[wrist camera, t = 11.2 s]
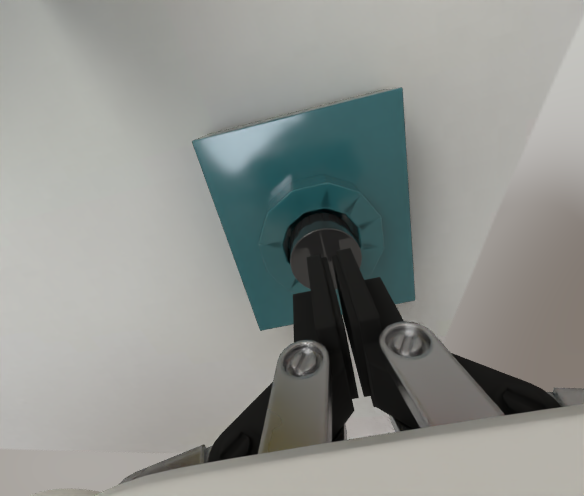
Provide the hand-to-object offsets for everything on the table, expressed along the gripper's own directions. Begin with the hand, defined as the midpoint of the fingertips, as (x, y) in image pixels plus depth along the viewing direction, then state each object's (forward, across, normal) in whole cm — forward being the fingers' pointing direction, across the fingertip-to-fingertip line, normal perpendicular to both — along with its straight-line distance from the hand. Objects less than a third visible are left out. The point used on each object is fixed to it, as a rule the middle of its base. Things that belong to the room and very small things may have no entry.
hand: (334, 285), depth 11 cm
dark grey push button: (+4, 0, 0) cm, 4 cm away
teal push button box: (+9, 0, 0) cm, 9 cm away
